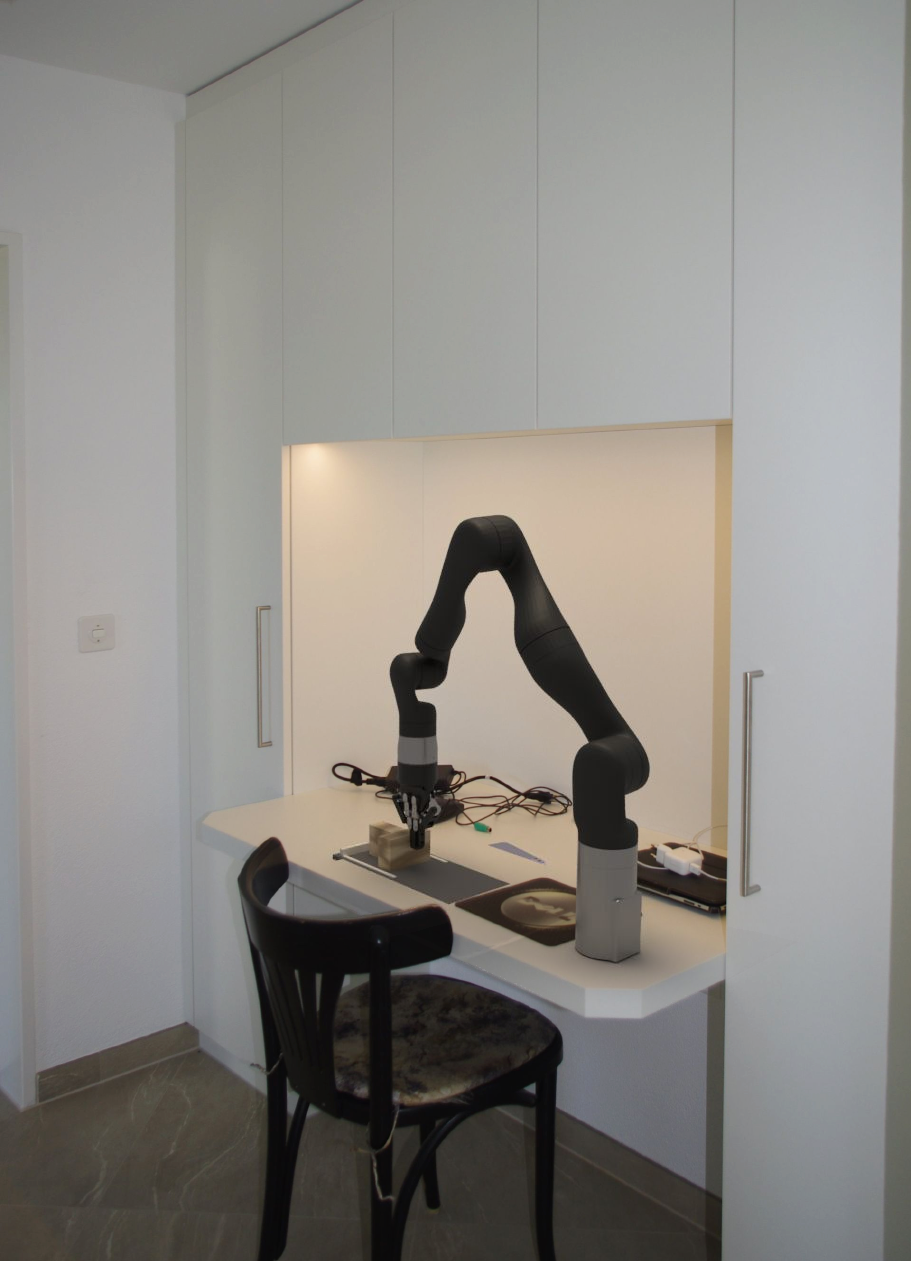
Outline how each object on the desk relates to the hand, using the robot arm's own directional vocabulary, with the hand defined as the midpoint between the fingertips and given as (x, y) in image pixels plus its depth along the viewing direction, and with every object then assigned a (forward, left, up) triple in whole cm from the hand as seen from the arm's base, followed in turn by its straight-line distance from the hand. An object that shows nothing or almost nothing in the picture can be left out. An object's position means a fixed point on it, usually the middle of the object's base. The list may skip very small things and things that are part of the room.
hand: (417, 848), depth 188 cm
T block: (+7, 0, -4) cm, 8 cm away
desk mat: (0, 0, -5) cm, 5 cm away
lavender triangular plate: (-5, -20, -5) cm, 21 cm away
